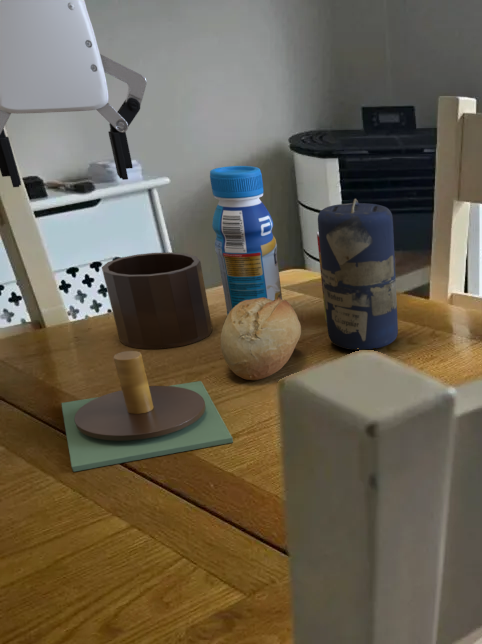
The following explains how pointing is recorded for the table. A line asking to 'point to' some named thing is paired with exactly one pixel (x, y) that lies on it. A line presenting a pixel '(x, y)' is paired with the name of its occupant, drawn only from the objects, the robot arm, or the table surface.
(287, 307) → the bread roll
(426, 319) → the table surface
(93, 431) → the lid
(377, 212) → the blue pillar candle
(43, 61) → the robot arm
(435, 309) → the table surface
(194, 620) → the table surface
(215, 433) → the mat
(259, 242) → the beverage bottle
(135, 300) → the basket
